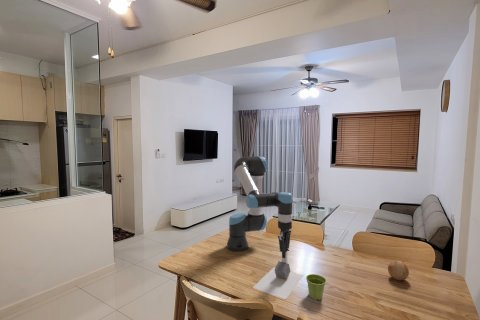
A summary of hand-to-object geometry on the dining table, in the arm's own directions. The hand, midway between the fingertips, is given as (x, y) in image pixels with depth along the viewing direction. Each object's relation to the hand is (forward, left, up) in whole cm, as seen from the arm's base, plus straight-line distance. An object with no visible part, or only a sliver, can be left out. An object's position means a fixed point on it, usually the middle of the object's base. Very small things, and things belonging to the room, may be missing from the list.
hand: (284, 262), depth 139 cm
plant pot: (+20, -9, -8) cm, 23 cm away
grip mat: (0, -7, -8) cm, 10 cm away
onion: (+53, +31, -8) cm, 62 cm away
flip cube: (0, -1, -6) cm, 6 cm away
